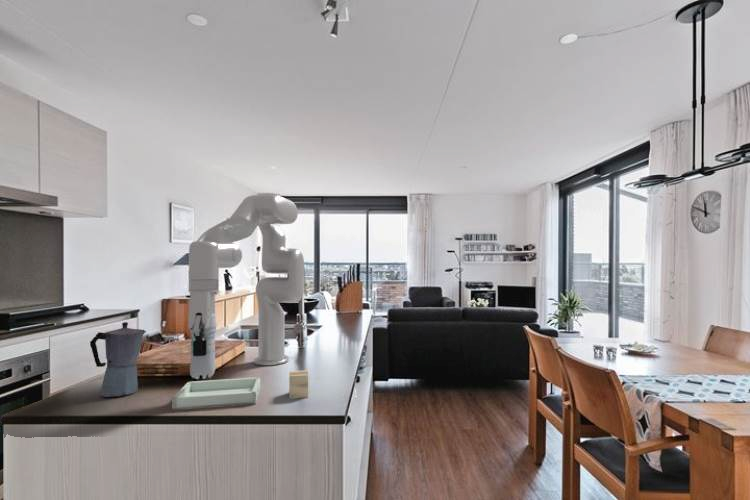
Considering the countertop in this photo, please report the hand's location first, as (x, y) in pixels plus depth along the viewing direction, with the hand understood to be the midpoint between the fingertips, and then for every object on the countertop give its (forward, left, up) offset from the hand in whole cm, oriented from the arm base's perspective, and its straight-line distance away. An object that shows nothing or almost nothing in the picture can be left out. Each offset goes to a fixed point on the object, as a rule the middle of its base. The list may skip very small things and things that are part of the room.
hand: (202, 352), depth 104 cm
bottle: (0, 0, -7) cm, 7 cm away
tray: (0, +5, -13) cm, 13 cm away
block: (+2, +26, -13) cm, 29 cm away
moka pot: (-10, -24, -13) cm, 29 cm away
